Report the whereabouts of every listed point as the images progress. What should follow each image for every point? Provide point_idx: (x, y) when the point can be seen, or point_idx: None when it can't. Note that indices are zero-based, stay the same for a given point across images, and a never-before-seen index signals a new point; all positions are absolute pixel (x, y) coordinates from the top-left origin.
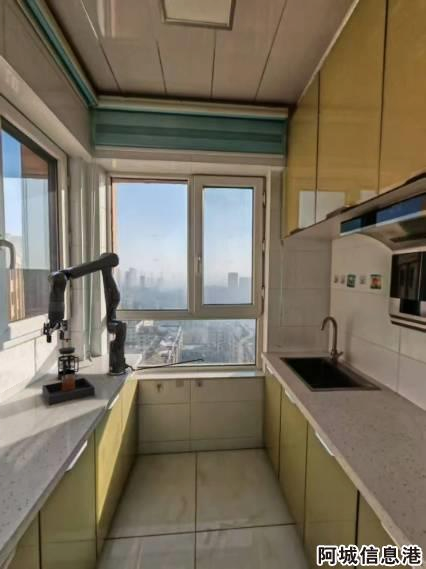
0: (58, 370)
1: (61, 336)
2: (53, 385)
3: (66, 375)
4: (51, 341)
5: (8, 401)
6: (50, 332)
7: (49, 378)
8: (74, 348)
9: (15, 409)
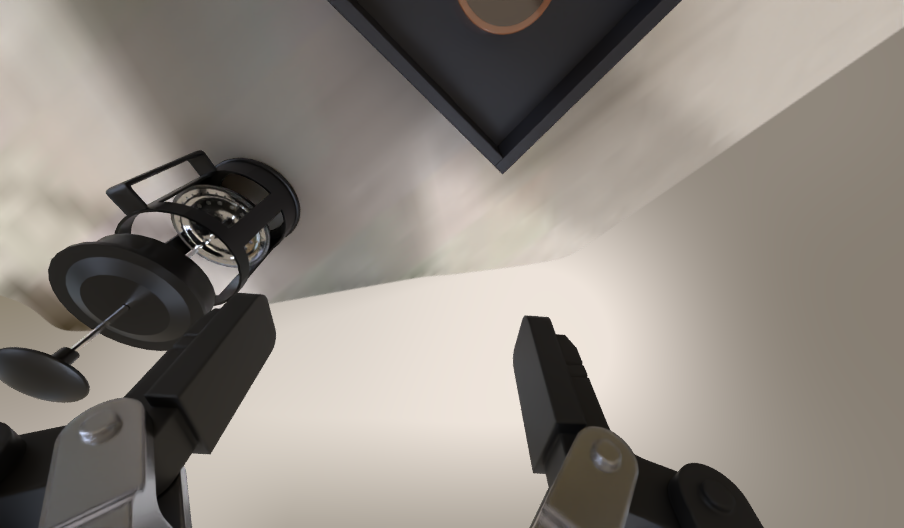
0: (266, 253)
1: (239, 356)
2: (472, 124)
3: (493, 4)
4: (529, 324)
5: (567, 246)
6: (625, 516)
7: (307, 265)
8: (65, 260)
9: (649, 163)
